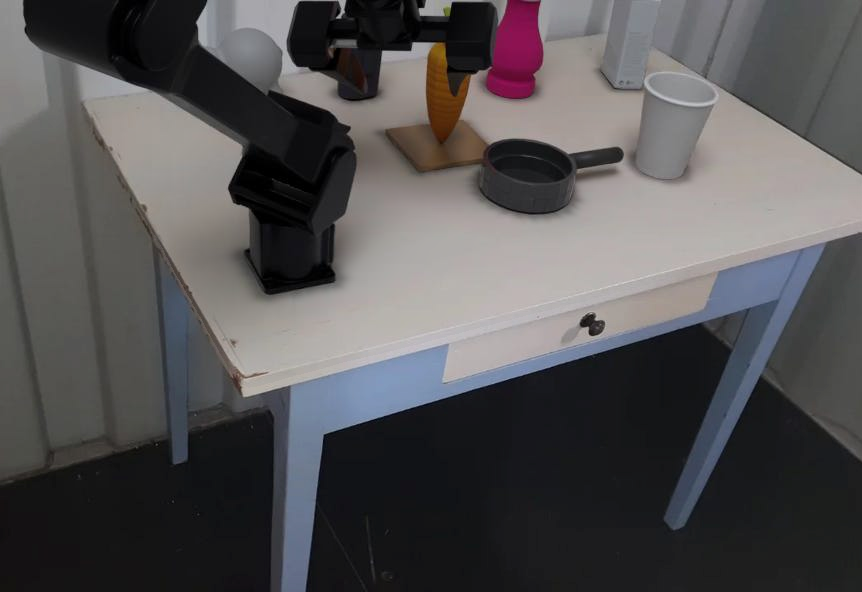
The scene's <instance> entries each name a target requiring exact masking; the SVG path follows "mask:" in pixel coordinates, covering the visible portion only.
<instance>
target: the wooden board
mask: <svg viewBox="0 0 862 592" xmlns="http://www.w3.org/2000/svg"><path fill="white" fill-rule="evenodd" d="M384 134H385V135H386V136H387V137H388V139H389V140H390V141H391V142H392V143H393V145H395V147H396V148H398V150H399V151H400V152H401V153H402V154H403V156H405V158H406V159H407V160H408V161H409V162H410V163H411V164H412V166H413V167H414V168H415V169H416V170H417V171H418V172H419V173H422V172H428V171H434V170H442V169H448V168H449V169H450V168H454V167H461V166H468V165H474V164H481V163H482V157H483V152H484V150H485V149H486V147H487V146H489V145H490V144H488V143H487V142H486V140H484V139H483V138H482V137H481V136H480V135H479V134H478V133H477V132H476V131H475V130H474V129H473V128H472V127H471V126H470V124H469V125H468V123H467V122H466V121H465V120H464V119H459V120H458V122H457V124H456V126H455V127H454V129H453V131H452V133H451V134H450V136H449V137H448V139H447V140H446V141H445V142H443V143H439V142H438V140H437V139H436V138H435V135H434V133H433V131H432V128H431V125H430V123H424V124H416V125H406V126H399V127H391V128H385V131H384Z"/></svg>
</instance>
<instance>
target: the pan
mask: <svg viewBox="0 0 862 592" xmlns="http://www.w3.org/2000/svg"><path fill="white" fill-rule="evenodd" d="M488 145H489V146H487V147H486V149H485V150H484V152H483V157H482V163H480V169H479V170H480V172H479V177H478V186H479V188H480V190H481V191H482V193H483V194H484V195H485V196H486V197H487V198H488V199H490V200H492V201H493V202H495V203H496V204H497V205H500V206H502V207H505V208H506V209H509V210H513V211H517V212H521V213H530V214H542V213H549V212H554V211H558V210H559V209H562V208H564V207H565V206H566V205H567V204H569V202H570V200H571V198H572V195H573V190H574V187H575V181H576V177H577V172H578V169H577V166H576V163H575V161H574V160H573V158H572V157H571V156H570V155H568V154H569V153H568V152H566V151H565V150H563V149H561V148H559V147H557V146H555V145H552V144H550V143H548V142H544V141H540V140H536V139H530V138H520V137H519V138H517V137H515V138H504V139H499V140H497V141H494V142H492V143H490V144H488Z"/></svg>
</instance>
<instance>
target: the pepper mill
mask: <svg viewBox="0 0 862 592" xmlns="http://www.w3.org/2000/svg"><path fill="white" fill-rule="evenodd" d="M541 3H542V0H506V5H505V9H504V13H503V16H502V18H501V20H500V21H499V23H498V28H497V35H496V42H495V49H494V56H493V64H492V66H491V67H490V68H489V69H488V71H487V73H486V80H485V86H486V88H487V89H488V91H490V92H491V93H493V94H495V95H497V96H500V97H503V98H508V99H525V98H528V97H530V96H532V95H533V93H534V92H535V87H536V79H537V78H536V77H535V74H536V73H537V72H539V70H540V69H541V67H542V66H543V62H544V44H543V41H542V36H541V32H540V28H539V16H540V15H539V14H540V7H541Z"/></svg>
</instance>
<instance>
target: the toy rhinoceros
mask: <svg viewBox="0 0 862 592" xmlns="http://www.w3.org/2000/svg"><path fill="white" fill-rule="evenodd" d="M198 42H199V44H200V45H201V46H202V47H203V48H205V49H206V50H207V51H209V52H210V53H211V54H213V55H214V56H215V57H217V58H218V59H219V60H221V61H222V62H223V63H225V64H226V65H227V66H229V67H230V68H231V69H233V70H234V71H235V72H237V73H238V74H239V75H241V76H242V77H243V78H244V79H246V80H247V81H248V82H250V83H251V84H252V85H254V86H255V87H256V88H258V89H259V90H260V91H262V92H263V93H264V94H266V95H267V94H268V91H269V89H270V90H273V91H275V92H278V93H281V94H284V93H283V91H282V89H281V86H280V84H279V79H280V76H281V74H282V70H283V56H284V54H283V53H284V52H283V50H282V48H281V47H280V46H279V45H278V44H277V43H276V41H275V40H274V39H273V38H272V37H271V36H270V35H269V34H268V33H266V32H265V31H263V30H260V29H257V28H255V27H241V28H236V29H234V30H232V31H231V32H229V33H228V34H226V35H225V36H224V37H223V38H222V40H221V41H220V43H219V45H218V47H216V48H214V47H212V46H209V45H203V44H202V42H201V41H200V39H198Z"/></svg>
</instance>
